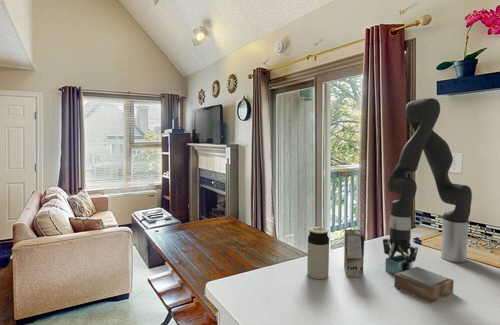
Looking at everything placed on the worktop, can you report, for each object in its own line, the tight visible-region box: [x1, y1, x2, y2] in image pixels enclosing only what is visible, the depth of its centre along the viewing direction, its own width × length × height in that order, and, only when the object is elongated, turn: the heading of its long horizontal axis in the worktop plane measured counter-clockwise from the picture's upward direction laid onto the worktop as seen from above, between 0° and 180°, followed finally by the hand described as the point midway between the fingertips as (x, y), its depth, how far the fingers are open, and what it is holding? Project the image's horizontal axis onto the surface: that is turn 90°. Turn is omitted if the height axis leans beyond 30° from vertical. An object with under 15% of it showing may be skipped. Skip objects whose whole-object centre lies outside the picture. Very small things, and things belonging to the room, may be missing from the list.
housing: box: [385, 254, 413, 276], centre depth 122 cm, size 9×6×5 cm, turn 120°
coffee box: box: [343, 228, 365, 279], centre depth 120 cm, size 9×6×16 cm
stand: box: [393, 266, 454, 304], centre depth 107 cm, size 13×13×5 cm
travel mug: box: [306, 226, 330, 280], centre depth 118 cm, size 8×8×18 cm
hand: (398, 268), depth 122 cm, fingers closed on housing, 5 cm apart
